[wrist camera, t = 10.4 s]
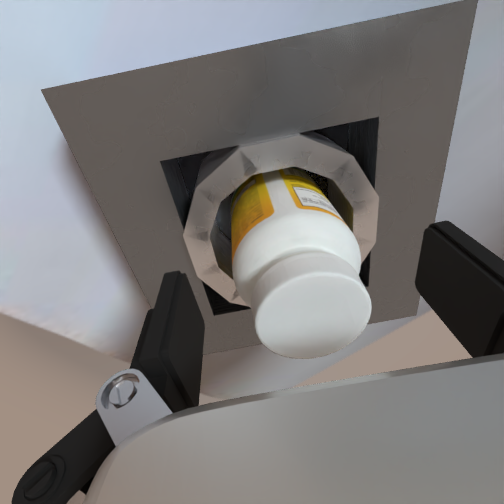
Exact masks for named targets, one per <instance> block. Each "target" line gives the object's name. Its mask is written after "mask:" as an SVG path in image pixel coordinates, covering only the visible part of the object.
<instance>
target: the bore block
mask: <svg viewBox="0 0 504 504" xmlns="http://www.w3.org/2000/svg"><path fill="white" fill-rule="evenodd" d="M477 3H478V0H463V1H458V2H453V3H448V4H444V5H439V6H434V7H430V8H425V9H420V10H415V11H411V12H406V13H401V14H396V15H392V16H387V17H382V18H377V19H373V20H368V21H363V22H359V23H354V24H349V25H344V26H340V27H335V28H330V29H325V30H321V31H316V32H311V33H307V34H302V35H297V36H292V37H288V38H283V39H278V40H273V41H269V42H264V43H259V44H255V45H250V46H245V47H240V48H236V49H231V50H226V51H221V52H217V53H212V54H207V55H202V56H198V57H193V58H188V59H184V60H179V61H174V62H169V63H165V64H160V65H155V66H150V67H146V68H141V69H136V70H132V71H127V72H122V73H117V74H113V75H108V76H103V77H98V78H94V79H89V80H84V81H80V82H75V83H70V84H65V85H61V86H56V87H51V88H46V89H42V90H41V91H42V93H43V95H44V97H45V99H46V101H47V103H48V105H49V107H50V109H51V111H52V113H53V115H54V117H55V119H56V121H57V123H58V125H59V127H60V129H61V131H62V133H63V135H64V137H65V139H66V141H67V143H68V145H69V147H70V149H71V151H72V153H73V154H74V156H75V158H76V160H77V162H78V164H79V166H80V168H81V170H82V172H83V174H84V176H85V178H86V180H87V182H88V184H89V186H90V188H91V190H92V192H93V194H94V196H95V198H96V200H97V202H98V204H99V206H100V208H101V210H102V212H103V214H104V216H105V218H106V220H107V222H108V224H109V226H110V227H111V229H112V231H113V233H114V235H115V237H116V239H117V241H118V243H119V245H120V247H121V249H122V251H123V253H124V255H125V257H126V259H127V261H128V263H129V265H130V267H131V269H132V271H133V273H134V275H135V277H136V279H137V281H138V283H139V285H140V287H141V289H142V291H143V293H144V295H145V297H146V298H147V300H148V302H149V304H150V306H151V308H152V309H154V307H155V303H156V300H157V296H158V293H159V290H160V286H161V283H162V279H163V276H164V274H165V273H167V272H173V271H178V270H179V271H180V272H181V273H186V275H187V277H188V280H189V283H190V285H191V288H192V290H193V293H194V296H195V298H196V301H197V303H198V306H199V309H200V311H201V314H202V317H203V319H204V323H205V333H204V345H203V355H205V354H210V353H215V352H221V351H226V350H232V349H237V348H242V347H248V346H253V345H259V344H263V343H262V342H261V341H260V339H259V338H258V336H257V334H256V331H255V327H254V321H253V314H252V310H251V308H250V307H249V306H248V305H247V304H246V303H245V302H244V301H243V299H242V298H241V297H240V295H239V293H238V291H237V289H236V286H235V283H234V280H233V271H232V242H231V241H230V240H229V239H228V238H227V237H226V236H225V235H224V234H223V233H222V232H220V231H219V228H218V224H217V220H216V214H217V211H218V208H219V205H220V202H221V201H222V200H224V199H225V198H226V197H227V196H228V195H229V194H231V193H232V192H233V191H234V190H235V189H236V188H238V187H239V186H240V185H241V184H242V183H243V182H245V181H246V180H247V179H248V178H249V177H250V176H252V175H254V174H259V173H264V172H269V171H274V170H279V169H284V168H289V167H294V166H296V167H299V168H302V169H305V170H308V171H310V172H313V173H316V174H319V175H322V176H324V177H326V178H327V179H328V194H329V202H330V203H331V204H332V206H333V207H334V208H335V209H336V211H337V212H338V214H339V215H340V216H341V218H342V219H343V220H344V222H345V223H346V224H347V226H348V227H349V229H350V230H351V231H352V233H353V234H354V236H355V238H356V240H357V243H358V245H359V249H360V254H361V267H360V273H359V277H360V280H361V281H362V283H363V285H364V287H365V288H366V290H367V292H368V294H369V296H370V299H371V307H372V309H371V315H370V318H369V321H368V323H367V324H372V323H377V322H383V321H388V320H394V319H399V318H404V317H410V316H415V315H416V314H417V309H418V304H419V299H420V293H419V292H418V291H417V289H416V287H415V278H416V273H417V267H418V262H419V256H420V251H421V245H422V240H423V234H424V230H425V229H426V228H428V226H429V225H430V224H432V223H434V222H435V217H436V212H437V207H438V202H439V197H440V192H441V187H442V182H443V176H444V171H445V166H446V161H447V156H448V151H449V146H450V141H451V136H452V131H453V125H454V120H455V115H456V110H457V105H458V100H459V95H460V90H461V85H462V79H463V74H464V69H465V64H466V59H467V54H468V49H469V44H470V39H471V33H472V28H473V23H474V18H475V13H476V8H477ZM346 123H349V146H348V152H347V151H345V150H344V149H343V148H341V147H340V146H338V145H337V144H336V143H334V142H333V141H331V140H330V139H328V138H327V137H326V136H323V135H321V134H318V133H316V132H313V131H311V130H316V129H321V128H326V127H331V126H336V125H341V124H346ZM208 151H212V152H211V153H210V154H209V155H208V156H207V157H206V158H205V159H204V160H203V161H202V162H201V166H200V170H199V173H198V177H197V181H196V184H195V188H194V192H193V196H192V199H191V202H190V199H189V195H188V192H187V189H186V186H185V183H184V179H183V176H182V173H181V170H180V167H179V164H178V160H177V158H178V157H183V156H188V155H193V154H198V153H203V152H208Z"/></svg>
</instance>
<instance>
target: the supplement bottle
mask: <svg viewBox="0 0 504 504" xmlns="http://www.w3.org/2000/svg"><path fill="white" fill-rule="evenodd" d="M231 234H232V271H233V280H234V283H235V286H236V289H237V291H238V293H239V295H240V297H241V298H242V299H243V301H244V302H245V303H246V304H247V305H248V306H249V307H250V308H251V310H252V314H253V321H254V327H255V331H256V334H257V336H258V338H259V339H260V341H261V342H262V343H263V344H264V345H265V346H266V347H267V348H268V349H269V350H271V351H272V352H274V353H276V354H279V355H281V356H285V357H289V358H295V359H310V358H316V357H322V356H325V355H328V354H331V353H334V352H336V351H338V350H340V349H342V348H344V347H345V346H347V345H348V344H350V343H351V342H352V341H354V340H355V339H356V338H357V337H358V336H359V335H360V334H361V333H362V331H363V330H364V329H365V327H366V325H367V323H368V321H369V318H370V315H371V309H372V307H371V299H370V296H369V294H368V292H367V290H366V288H365V287H364V285H363V283H362V281H361V280H360V277H359V273H360V267H361V254H360V249H359V245H358V243H357V240H356V238H355V236H354V234H353V233H352V231H351V230H350V229H349V227H348V226H347V224H346V223H345V222H344V220H343V219H342V218H341V216H340V215H339V214H338V212H337V211H336V209H335V208H334V207H333V206H332V204H331V203H330V202H329V200H328V199H327V198H326V196H325V195H324V194H323V192H322V191H321V189H320V188H319V187H318V185H317V184H316V183H315V181H314V180H313V179H312V178H311V177H310V176H309V175H308V174H307V173H306V172H305V171H303V170H302V169H300V168H298V167H296V166H294V167H289V168H284V169H279V170H274V171H269V172H264V173H259V174H254V175H252V176H250V177H249V178H248V179H247V180H246V181H245V182H243V183H242V184H241V185H240V186H239V187H238V188H236V190H235V192H234V194H233V197H232V201H231Z"/></svg>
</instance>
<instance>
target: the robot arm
mask: <svg viewBox="0 0 504 504" xmlns="http://www.w3.org/2000/svg"><path fill="white" fill-rule="evenodd" d="M415 287H416V289H417V291H418V292H419V293H420V295H421V296H422V297H423V298H424V299H425V301H426V302H427V303H428V304H429V305H430V307H431V308H432V309H433V310H434V311H435V313H436V314H437V315H438V316H439V317H440V319H441V320H442V321H443V322H444V324H445V325H446V326H447V327H448V328H449V330H450V331H451V332H452V333H453V334H454V336H455V337H456V338H457V339H458V340H459V342H460V343H461V344H462V345H463V347H464V348H465V349H466V350H467V351H468V353H469V354H470V355H471V356H472V357H473V358H470V359H464V360H458V361H452V362H445V363H439V364H433V365H426V366H420V367H415V368H409V369H402V370H396V371H390V372H384V373H378V374H372V375H366V376H360V377H354V378H348V379H343V380H337V381H331V382H325V383H319V384H313V385H307V386H302V387H296V388H290V389H284V390H279V391H273V392H267V393H261V394H256V395H250V396H245V397H240V398H234V399H229V400H224V401H219V402H214V403H209V404H205V405H201V406H198V405H199V394H200V382H201V370H202V357H203V345H204V333H205V323H204V319H203V317H202V314H201V311H200V309H199V306H198V303H197V301H196V298H195V296H194V293H193V290H192V288H191V285H190V283H189V280H188V277H187V275H186V273H181V272H180V271H179V270H178V271H173V272H167V273H165V274H164V276H163V279H162V283H161V286H160V290H159V293H158V296H157V300H156V303H155V307H154V309H150V310H149V311H148V313H147V315H146V318H145V321H144V325H143V328H142V331H141V334H140V337H139V340H138V344H137V347H136V350H135V353H134V356H133V359H132V363H131V366H130V369H125V370H123V371H120V372H118V373H116V374H115V375H113V376H112V377H111V378H109V379H108V380H107V381H106V382H105V383H104V384H103V386H102V387H101V388H100V390H99V392H98V394H97V397H96V408H97V409H96V410H95V411H93V412H92V413H91V414H90V415H89V416H88V417H87V418H85V419H84V420H83V421H82V422H81V423H80V424H78V425H77V426H76V427H75V428H74V429H73V430H72V431H70V432H69V433H68V434H67V435H66V436H65V437H64V438H62V439H61V440H60V441H59V442H58V443H57V444H55V445H54V446H53V447H52V448H51V449H50V450H49V451H47V453H45V454H44V455H43V456H42V457H40V458H39V459H38V460H37V461H36V462H35V463H34V464H33V465H32V466H31V467H30V468H29V469H28V470H27V471H26V472H25V474H24V475H23V477H22V478H21V479H20V481H19V483H18V485H17V487H16V489H15V491H14V494H13V498H12V504H504V261H503V260H502V259H501V258H499V257H498V256H496V255H495V254H494V253H492V252H491V251H490V250H488V249H487V248H485V247H484V246H483V245H481V244H480V243H478V242H477V241H476V240H474V239H473V238H472V237H470V236H469V235H467V234H466V233H465V232H463V231H462V230H461V229H459V228H458V227H456V226H455V225H454V224H452V223H451V222H449V221H442V222H437V223H432V224H430V225H429V226H428V228H426V229H425V230H424V234H423V240H422V245H421V251H420V256H419V262H418V267H417V273H416V278H415Z"/></svg>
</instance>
